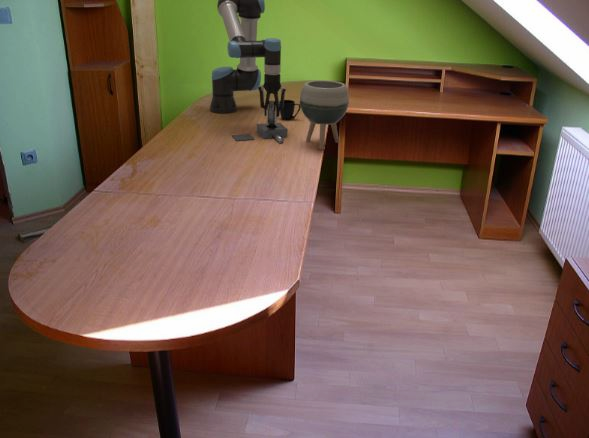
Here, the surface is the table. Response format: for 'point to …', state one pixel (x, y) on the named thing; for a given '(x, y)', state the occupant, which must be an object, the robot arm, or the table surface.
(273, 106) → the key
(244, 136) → the mat
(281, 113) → the mug
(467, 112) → the table surface
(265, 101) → the robot arm
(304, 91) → the planter
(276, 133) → the block
